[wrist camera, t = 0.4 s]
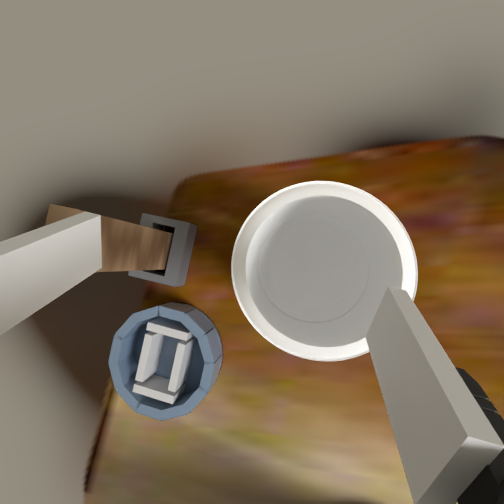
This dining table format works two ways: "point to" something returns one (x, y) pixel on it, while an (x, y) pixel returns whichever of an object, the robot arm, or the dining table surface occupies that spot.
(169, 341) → the candle dish
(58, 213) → the brown long rectangular bar
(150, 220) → the grey slotted block
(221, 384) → the dining table surface
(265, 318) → the jar
